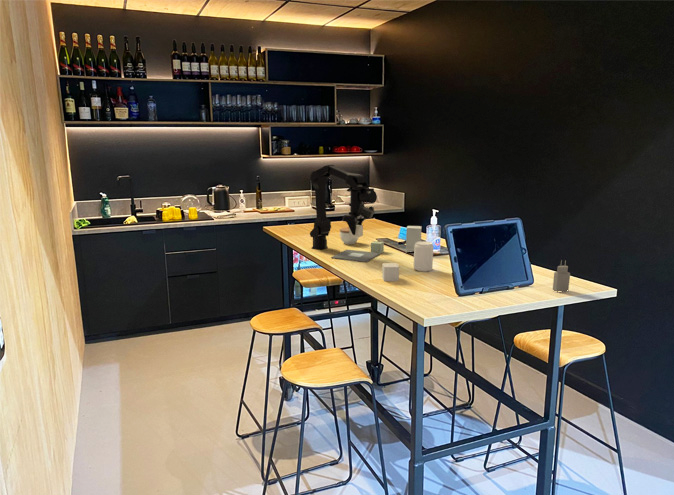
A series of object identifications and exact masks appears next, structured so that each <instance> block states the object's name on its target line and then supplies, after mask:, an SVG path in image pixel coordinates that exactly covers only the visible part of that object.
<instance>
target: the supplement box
mask: <svg viewBox="0 0 674 495" xmlns="http://www.w3.org/2000/svg"><path fill="white" fill-rule="evenodd" d="M422 228H423V227H422V225H421V226H420V225H407V226H406V234H405V238H406V239H405V240H406V241H405V253H407V252H410V251H414V246H415V244H416V242H419V241H422Z"/></svg>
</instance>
